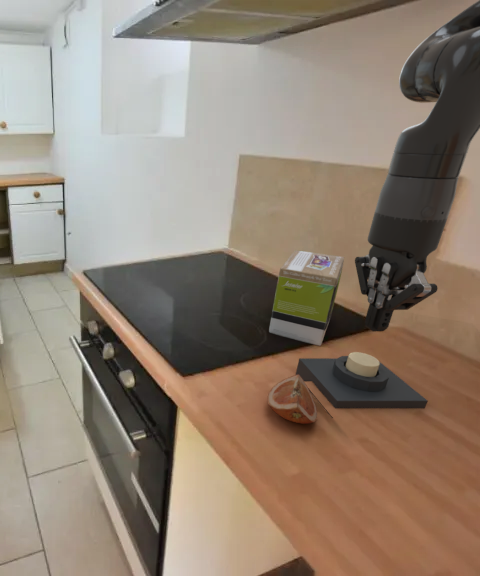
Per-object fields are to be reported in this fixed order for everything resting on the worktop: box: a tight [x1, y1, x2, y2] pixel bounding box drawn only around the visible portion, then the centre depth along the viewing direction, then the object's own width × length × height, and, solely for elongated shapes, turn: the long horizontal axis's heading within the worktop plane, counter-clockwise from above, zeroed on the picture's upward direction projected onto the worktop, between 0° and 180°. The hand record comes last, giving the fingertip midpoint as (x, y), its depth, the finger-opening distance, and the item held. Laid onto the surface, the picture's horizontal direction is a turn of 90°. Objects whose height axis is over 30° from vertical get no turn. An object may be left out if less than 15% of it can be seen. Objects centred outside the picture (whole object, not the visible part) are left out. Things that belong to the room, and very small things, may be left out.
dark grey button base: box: [295, 355, 428, 419], centre depth 60 cm, size 13×11×5 cm
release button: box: [346, 351, 381, 377], centre depth 58 cm, size 4×4×2 cm
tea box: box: [268, 249, 345, 347], centre depth 79 cm, size 15×10×15 cm
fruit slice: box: [267, 374, 318, 425], centre depth 55 cm, size 8×7×5 cm
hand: (374, 328), depth 56 cm, fingers closed
